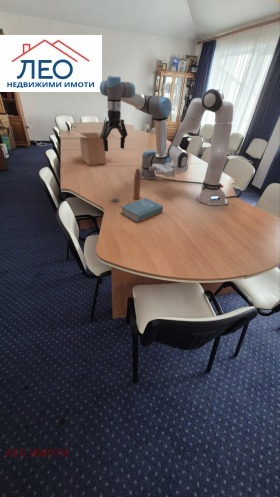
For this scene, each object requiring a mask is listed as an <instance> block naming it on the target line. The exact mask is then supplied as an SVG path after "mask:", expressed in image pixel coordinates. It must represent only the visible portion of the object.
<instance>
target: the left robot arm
mask: <svg viewBox="0 0 280 497" xmlns="http://www.w3.org/2000/svg"><path fill="white" fill-rule="evenodd" d="M99 92H100V94H101V95H102V96H104V97H105V96H106V97H107V118H108V120H107V119H104V120H103V126H102V129H101V131H100V132H101V136H100V138H102V139H103V145H104V151H105V152H107V153H108V152H109V139H108V138H109V137H108V136H109V135H111V132H112V131H113V130H115V129H116V130H117V131H118V133H119V134H120V149H122V150H124V149H125V142H126V138H127V136H128V131H127V128H126V125H125V119H123V118H121V117H122V111H121V109H122V103H125V104H128V105H129V106H132V107H134V108H135V109H136V110H138V111H140V112H142V113H144V114H147V115H150V116H152V121H154V128H155V129H154V130H155V147H156V148H155V149H156V150H153V149H151V150H145V151H143V152H142V159H141V160H142V161H141V168H140V173H141V180H146V181H154V180H156V178H158V179H161V180H166V181H171V182H177V183H179V182H180V183H189V184H201V185H202V184H203V182H199V181H188V180H187V181H186V180H178V179H171V178H167V177H162V176H157V174H156V171H155V170H149V168H150V167H152V164H162V165H165V164H166V163H172V162H173V160H172V159H170V158H169V157H168V156H167V150H168V136H167V135H168V134H167V132H168V130H167V120H168V119H169V117H170V116H171V114H172V110H173V105H172V101H171V99H170V98H168V97H166V96H161V95H147V94H146V95H145V94H142V93H139V94H138V93H136V86H135V84H134V83H133V82H130V81H122V78H121V76H115V75H109V76H107V77H106V80H102V81H101V82H100V84H99Z"/></svg>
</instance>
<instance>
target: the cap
mask: <svg viewBox="0 0 280 497" xmlns="http://www.w3.org/2000/svg"><path fill="white" fill-rule="evenodd" d="M111 202H112V203H118V202H119V199H118V197H113V198H111Z"/></svg>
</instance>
